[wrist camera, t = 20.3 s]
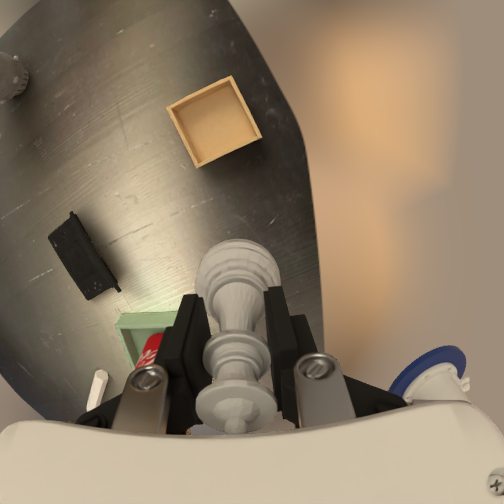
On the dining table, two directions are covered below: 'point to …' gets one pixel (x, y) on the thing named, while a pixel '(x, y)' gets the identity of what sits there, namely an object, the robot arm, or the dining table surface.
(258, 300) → the chess piece
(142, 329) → the green square tray
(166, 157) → the dining table surface
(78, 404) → the dining table surface
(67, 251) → the handheld gaming console
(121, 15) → the dining table surface
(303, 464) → the robot arm
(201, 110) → the tray
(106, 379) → the white pencil
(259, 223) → the dining table surface
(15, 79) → the toy rocket
